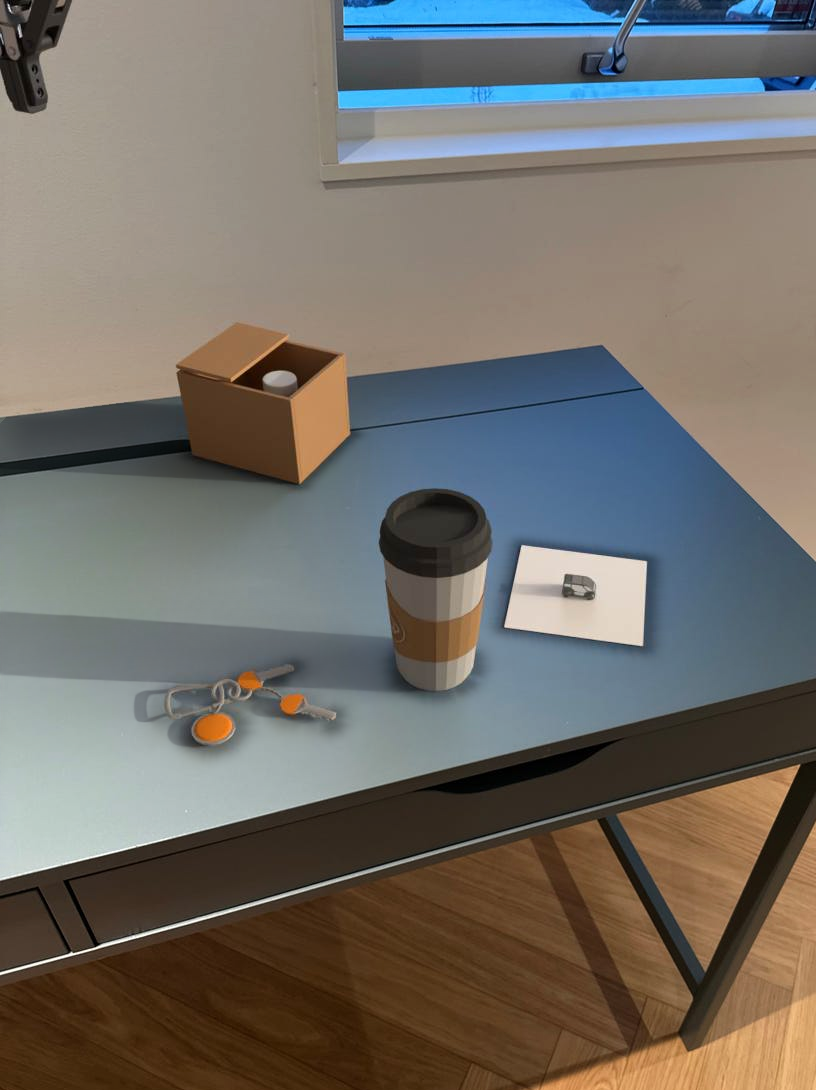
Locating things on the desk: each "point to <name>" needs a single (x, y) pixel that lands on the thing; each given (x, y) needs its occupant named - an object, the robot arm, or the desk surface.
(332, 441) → the carton
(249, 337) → the bin flap
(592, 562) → the white square mat
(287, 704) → the key chain
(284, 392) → the pill bottle
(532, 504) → the desk surface
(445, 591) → the coffee cup
